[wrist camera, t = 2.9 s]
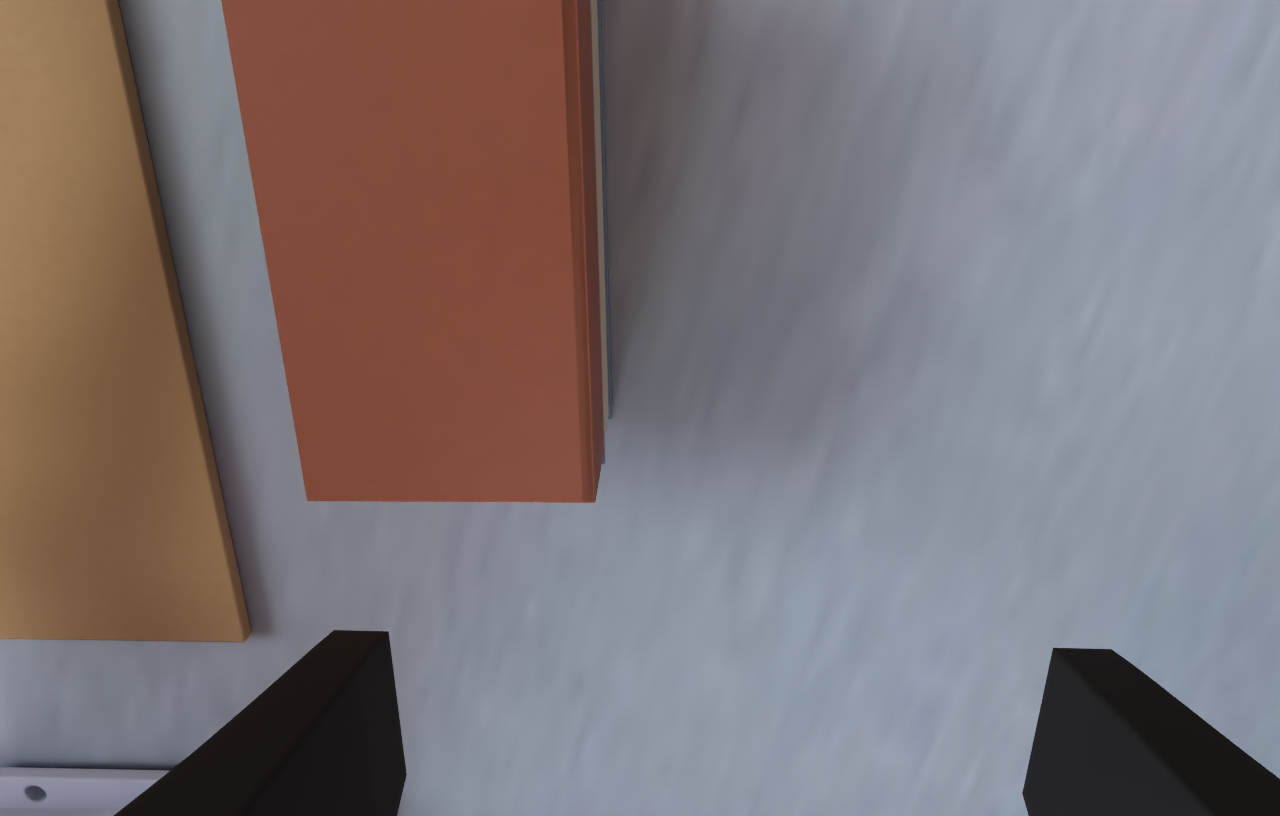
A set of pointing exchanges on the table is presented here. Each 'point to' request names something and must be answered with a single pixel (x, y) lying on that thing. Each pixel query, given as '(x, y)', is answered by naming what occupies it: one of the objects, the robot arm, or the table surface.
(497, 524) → the table surface
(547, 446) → the book stack
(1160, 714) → the robot arm
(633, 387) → the table surface
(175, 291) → the cork mat
